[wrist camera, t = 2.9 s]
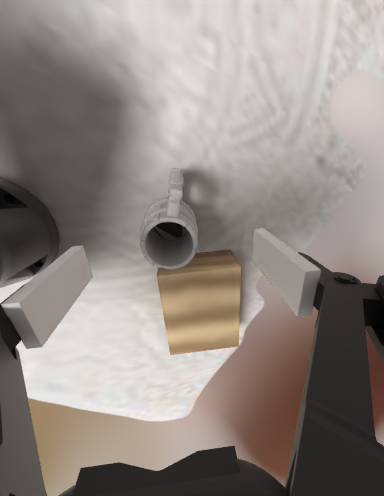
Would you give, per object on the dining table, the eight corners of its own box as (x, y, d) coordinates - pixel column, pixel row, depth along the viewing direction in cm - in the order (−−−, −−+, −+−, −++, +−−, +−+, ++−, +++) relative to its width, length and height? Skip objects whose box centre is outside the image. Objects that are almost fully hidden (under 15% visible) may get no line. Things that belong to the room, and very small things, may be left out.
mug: (144, 241, 32) (128, 282, 21) (149, 162, 27) (133, 161, 16) (190, 246, 33) (199, 288, 22) (203, 171, 28) (222, 176, 17)
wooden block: (159, 257, 33) (156, 275, 28) (230, 249, 34) (241, 266, 28) (170, 328, 39) (170, 354, 34) (229, 321, 40) (238, 346, 35)
